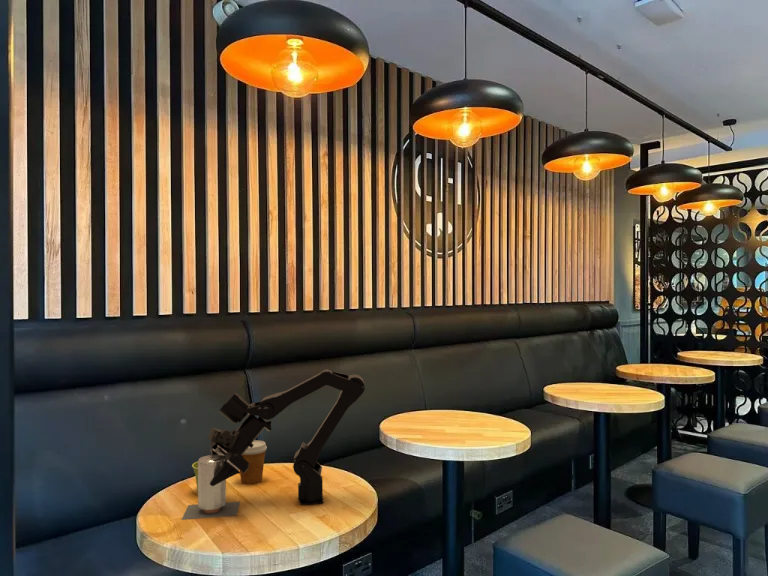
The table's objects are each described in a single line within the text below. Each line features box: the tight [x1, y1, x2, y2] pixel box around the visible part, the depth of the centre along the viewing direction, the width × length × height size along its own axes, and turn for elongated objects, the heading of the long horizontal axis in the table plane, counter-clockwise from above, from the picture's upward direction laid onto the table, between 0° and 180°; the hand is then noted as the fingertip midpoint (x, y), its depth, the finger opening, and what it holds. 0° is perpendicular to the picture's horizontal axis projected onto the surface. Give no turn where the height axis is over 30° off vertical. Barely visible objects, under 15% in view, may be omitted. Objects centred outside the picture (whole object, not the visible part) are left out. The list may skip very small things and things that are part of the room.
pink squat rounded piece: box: [203, 508, 220, 513], centre depth 145 cm, size 4×4×3 cm
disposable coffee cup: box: [239, 439, 268, 485], centre depth 169 cm, size 10×10×12 cm
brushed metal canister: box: [197, 454, 227, 510], centre depth 145 cm, size 7×7×12 cm
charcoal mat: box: [180, 501, 241, 521], centre depth 145 cm, size 14×10×1 cm
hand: (207, 481), depth 145 cm, fingers closed on brushed metal canister, 7 cm apart
